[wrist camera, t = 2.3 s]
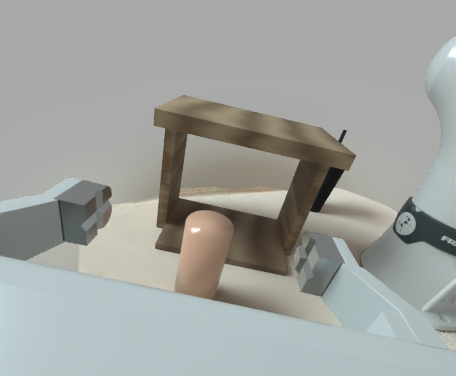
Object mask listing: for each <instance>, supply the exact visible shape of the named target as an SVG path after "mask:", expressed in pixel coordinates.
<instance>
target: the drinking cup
mask: <svg viewBox="0 0 456 376" xmlns="http://www.w3.org/2000/svg"><path fill="white" fill-rule="evenodd" d="M345 133H346V130H343V132H342V134H341V137H340V139H339V142H340V143H341V142H342V140H343V138H344V136H345ZM344 171H345V170H343V169H339V168H334V167H330V168H329V170H328V172H327V175H326V177H325V179H324V181H323V183H322V185H321V188H320V190H319V192H318V194H317V196H316V199H315V201H314V203H313V205H312V207H311V210H310V211H312V212H319V211H320V210H321V208H322V206H323V205H324V203H325V201H326V200H327V198H328V197H329V195H330V193H331V192H332V190H333V188H334V187H335V185H336V184H337V182H338V180H339V179H340V177H341V175H342V174H343V172H344Z"/></svg>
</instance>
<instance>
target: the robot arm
mask: <svg viewBox="0 0 456 376" xmlns="http://www.w3.org/2000/svg"><path fill="white" fill-rule="evenodd" d="M425 89H426V94H427V96H428V98H429V100H430V101H431V103H432V104H433V106H434V108H435V109H436V111H437V114H438V116H439V120H440V125H441V144H440V148H439V152H438V155H437V157H436V159H435V162H434V163H433V165H432V167H431V169H430V171H429V173H428V174H427V176H426V178H425V180H424V181H423V183H422V184H421V186H420V187H419V189H418V191H417V192H416V194H415V195H414V196H413V197H410V198H409V199H408V200H407V201H406V203H405V204H404V205H403V207H402V208H401V210H400V211H399V212H398V214H397V217H396V219H395V221H394V222H393V224H392V225H391V226H390V227H389V228H388V229H387V230H386V231H385V232H384V233H383V235H382V236H381V237H380V238H379V239H378V240H377V241H375V242H374V243H373V244H372V245H371V247H369V248H368V249H367V250H366V251H364V252H363V253H362V254H361V264H362V266H363V268H362V267H359V265H358V263H357V262H356V260H355V258H354V256H353V255H352V253H351V251H350V250H349V248H348V246H347V244H346V243H345V241H344V240H343V239H341V238H337V237H332V236H326V235H321V234H316V233H311V232H305V233H304V234H303V236H302V238H301V240H302V243H303V244H302V245H300V246H298V247H297V249H296V251H295V255H294V267H295V270H296V271H297V272H298V273H299V275H298V277H297V279H298V283H299V287H300V291H301V292H304V293H308V294H312V295H316V296H321V298H322V299H323V301H324V302H325V303H326V304H327V306H328V307H329V308H330V310H331V311H332V312H333V313H334V315H335V316H336V317H337V319H338V320H339V321H340V322H341V324H342V325H343V326H344V327H339V326H334V325H329V324H324V323H319V322H315V321H310V320H305V319H300V318H296V317H291V316H286V315H281V314H277V313H272V312H267V311H263V310H258V309H253V308H248V307H244V306H239V305H234V304H229V303H225V302H220V301H215V300H210V299H205V298H201V297H196V296H191V295H186V294H181V293H177V292H172V291H167V290H162V289H157V288H152V287H148V286H143V285H138V284H133V283H128V282H124V281H119V280H114V279H109V278H105V277H100V276H95V275H90V274H85V273H81V272H75V271H71V270H66V269H62V268H56V267H52V266H47V265H42V264H37V263H33V262H28V261H26V260H27V259H29V258H32V257H34V256H36V255H38V254H40V253H42V252H45V251H47V250H49V249H51V248H53V247H55V246H57V245H59V244H62V243H63V241H64V242H69V243H75V244H80V245H85V246H87V245H88V244H89V243H90V242H91V241H92V240H93V239H94V237H95V236H96V235H97V230H98V229H101V228H103V227H104V226H105V225H106V224H107V223H108V221H109V218H110V216H111V211H112V205H111V204H110V202H109V201H108V199H109V198H110V197H111V196H112V194H111V189H110V187H109V186H105V185H101V184H97V183H93V182H89V181H84V180H81V179H77V178H67V179H66V180H64V181H63V182H61V183H59V184H57V185H56V186H54V187H52V188H51V189H49V190H48V191H46V192H44V193H43V194H41V195H39V196H38V195H31V196H26V197H21V198H16V199H11V200H6V201H1V202H0V376H456V351H454V350H450V349H449V348H448V346H447V345H446V343H445V342H444V341H443V339H442V338H441V337H440V335H439V334H438V333H437V331H436V330H435V329H437V330H440V331H456V36H455V37H454V38H452V39H451V40H449V41H448V42H447V43H446V44H445V45H444V46H443V47H442V48H441V49H440V50H439V52H438V53H437V54H436V55H435V57H434V58H433V60H432V61H431V63H430V66H429V68H428V70H427V73H426V78H425Z"/></svg>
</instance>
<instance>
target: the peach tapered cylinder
mask: <svg viewBox="0 0 456 376" xmlns="http://www.w3.org/2000/svg"><path fill="white" fill-rule="evenodd" d="M233 232H234V226H233V224H232V222H231V221H230V220H229V219H228V218H227V217H226V216H224V215H222V214H220V213H218V212H214V211H208V210H201V211H196V212H194V213H192V214H190V215H189V216H188V217H187V219H186V222H185V228H184V235H183V241H182V247H181V253H180V259H179V265H178V271H177V277H176V283H175V289H174V292H177V293H181V294H186V295H191V296H196V297H201V298H205V299H210V300H214V298H215V294H216V291H217V287H218V284H219V280H220V277H221V274H222V270H223V267H224V263H225V260H226V256H227V253H228V250H229V246H230V243H231V239H232V236H233Z"/></svg>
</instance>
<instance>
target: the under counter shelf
mask: <svg viewBox="0 0 456 376" xmlns="http://www.w3.org/2000/svg"><path fill="white" fill-rule="evenodd" d="M154 126H158V127H163V128H165V138H164V149H163V161H162V171H161V172H162V173H161V183H160V194H159V205H158V216H157V227H160V228H163V230H162V232H161V234H160V236H159V238H158V240H157V242H156V245H155V248H156V249H161V250H166V251H171V252H175V253H181V247H182V241H183V235H184V228H185V222H186V219H187V217H188V216H189V215H190V214H192V213H194V212H196V211H201V210H208V211H214V212H218V213H220V214H222V215H224V216H226V217H227V218H228V219H229V220H230V221H231V222H232V224H233V226H234V232H233V236H232V239H231V243H230V246H229V250H228V253H227V256H226V260H225V263H228V264H232V265H237V266H242V267H247V268H251V269H256V270H261V271H265V272H270V273H275V274H280V275H284V276H286V274H287V272H288V270H287V265H286V260H285V256H284V254H286V255H290V253H291V251H292V249H293V247H294V244H295V242H296V240H297V238H298V236H299V234H300V231H301V229H302V227H303V225H304V223H305V220H306V218H307V216H308V214H309V212H310V210H311V207H312V205H313V203H314V201H315V199H316V196H317V194H318V192H319V190H320V188H321V185H322V183H323V181H324V179H325V177H326V175H327V172H328V170H329V168H330V167H334V168H339V169H343V170H349V169H350V167H351V165H352V163H353V161H354V159H355V157H356V155H355V154H354V153H352V152H351V151H350V150H349V149H347V148H346V147H344V145H342V144H341V143H340V142H339V141H337V140H336V139H335V138H334V137H332V136H331V135H330V134H329V133H327V132H326V131H325V130H324V129H322V128H319V127H315V126H311V125H307V124H303V123H299V122H294V121H290V120H286V119H282V118H278V117H273V116H269V115H265V114H261V113H257V112H252V111H248V110H243V109H240V108H236V107H231V106H227V105H223V104H219V103H215V102H210V101H206V100H202V99H198V98H194V97H189V96H185V95H183V96H181V97H179V98H176V99H174V100H172V101H170V102H167V103H165V104H163V105H161V106H159V107H156V108H155V113H154ZM187 134H193V135H197V136H201V137H206V138H209V139H214V140H218V141H222V142H227V143H231V144H236V145H240V146H244V147H248V148H253V149H257V150H261V151H265V152H270V153H274V154H278V155H283V156H287V157H292V158H296V159H300V162H299V164H298V167H297V170H296V172H295V175H294V177H293V180H292V183H291V185H290V188H289V190H288V193H287V195H286V198H285V201H284V203H283V206H282V208H281V211H280V214H279V216H278V219H277V220H276V219H272V218H267V217H262V216H258V215H253V214H249V213H244V212H240V211H235V210H231V209H226V208H222V207H217V206H213V205H208V204H203V203H199V202H194V201H190V200H185V199H181V198H179V193H180V185H181V178H182V171H183V163H184V156H185V148H186V141H187Z"/></svg>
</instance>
